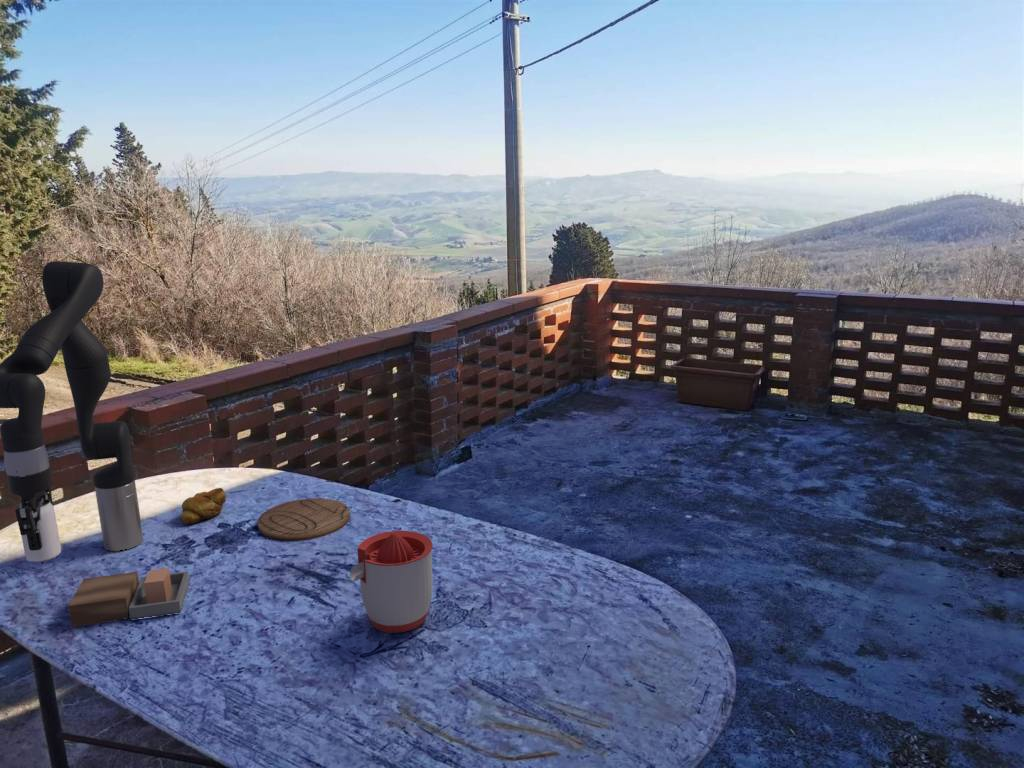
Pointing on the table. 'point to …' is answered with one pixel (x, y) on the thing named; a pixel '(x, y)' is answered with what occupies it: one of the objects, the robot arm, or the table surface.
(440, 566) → the table surface
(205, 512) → the bread roll
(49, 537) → the can
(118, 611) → the brown wooden block
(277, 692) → the table surface
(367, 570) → the citrus juicer
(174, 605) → the box
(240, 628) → the table surface
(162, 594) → the small tan cube
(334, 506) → the trivet
